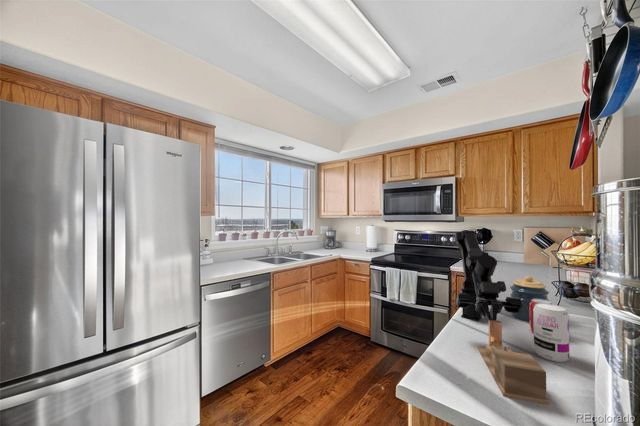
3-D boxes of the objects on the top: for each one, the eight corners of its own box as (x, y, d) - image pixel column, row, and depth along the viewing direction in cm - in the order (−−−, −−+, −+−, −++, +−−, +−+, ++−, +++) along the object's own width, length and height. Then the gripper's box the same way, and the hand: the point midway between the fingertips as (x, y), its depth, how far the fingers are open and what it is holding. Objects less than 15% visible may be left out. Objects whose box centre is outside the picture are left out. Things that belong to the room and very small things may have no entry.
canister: (531, 311, 117) (530, 272, 117) (558, 323, 104) (557, 279, 104) (503, 311, 117) (502, 272, 117) (527, 323, 104) (526, 279, 104)
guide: (477, 349, 84) (477, 326, 84) (510, 353, 81) (510, 330, 81) (503, 395, 62) (502, 365, 62) (549, 404, 59) (548, 372, 59)
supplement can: (562, 352, 82) (561, 304, 82) (574, 365, 74) (573, 313, 74) (530, 347, 85) (529, 301, 85) (539, 359, 78) (538, 309, 78)
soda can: (560, 339, 91) (559, 304, 91) (537, 337, 92) (536, 303, 92) (546, 330, 97) (546, 298, 98) (525, 328, 99) (525, 297, 99)
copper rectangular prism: (489, 348, 82) (488, 319, 82) (500, 350, 81) (500, 321, 81) (503, 372, 69) (503, 338, 70) (517, 374, 68) (517, 340, 69)
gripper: (457, 269, 91) (464, 312, 80) (520, 273, 85) (537, 319, 74) (453, 286, 98) (459, 327, 87) (511, 291, 92) (525, 335, 81)
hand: (493, 327), depth 82 cm, fingers closed
